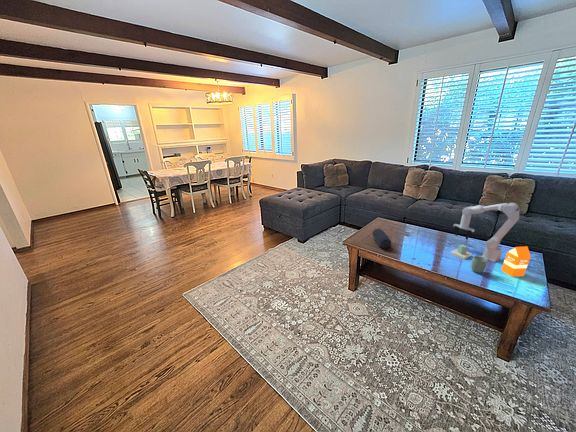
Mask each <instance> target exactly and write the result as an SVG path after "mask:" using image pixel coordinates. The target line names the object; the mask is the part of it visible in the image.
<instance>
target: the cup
mask: <svg viewBox="0 0 576 432" xmlns="http://www.w3.org/2000/svg"><path fill="white" fill-rule="evenodd" d="M471 260H472V261H471V264H470V265H471V266H470V267H471V271H473V272H474V273H477V274H481V273H484V271H485V270H486V268H487V264H488V261H489V260H488V259H486V258H484V257H481V255H475V256H473V257H472V259H471Z"/></svg>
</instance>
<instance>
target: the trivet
mask: <svg viewBox="0 0 576 432" xmlns="http://www.w3.org/2000/svg"><path fill="white" fill-rule="evenodd" d="M457 249H458V248H456V249H453V250H452V251H450V255H452V256H455V257H457V258H460V259H462V260H466V259H468V258H470V257H472V255H473V254H472V253H471V252H469V251H466V254H460V253H458V252H457Z"/></svg>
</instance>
